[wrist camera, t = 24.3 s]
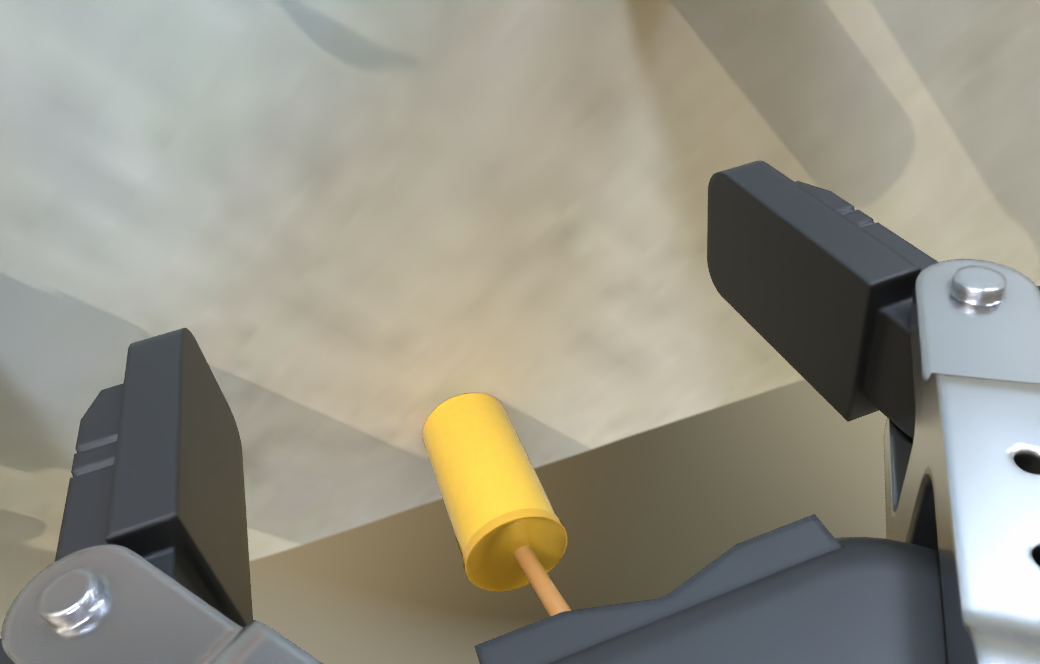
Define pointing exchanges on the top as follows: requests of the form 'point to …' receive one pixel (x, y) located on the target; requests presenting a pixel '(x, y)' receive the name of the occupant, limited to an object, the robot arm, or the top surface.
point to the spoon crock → (494, 498)
